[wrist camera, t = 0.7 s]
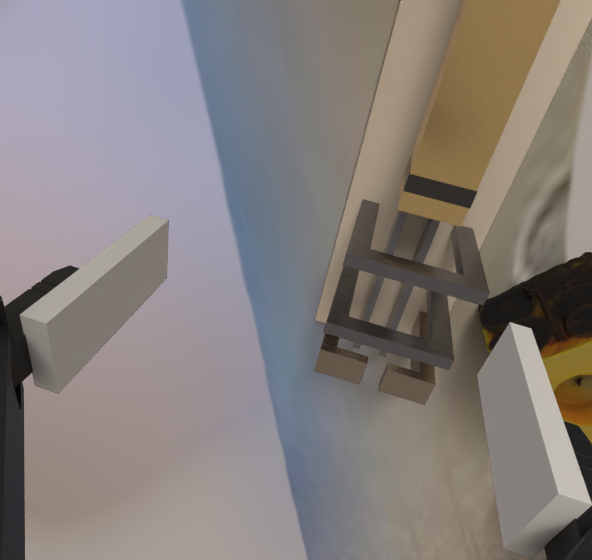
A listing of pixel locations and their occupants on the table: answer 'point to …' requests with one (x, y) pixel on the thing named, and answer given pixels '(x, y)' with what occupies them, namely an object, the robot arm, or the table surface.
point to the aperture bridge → (394, 378)
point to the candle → (554, 331)
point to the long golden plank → (472, 104)
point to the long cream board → (400, 142)
